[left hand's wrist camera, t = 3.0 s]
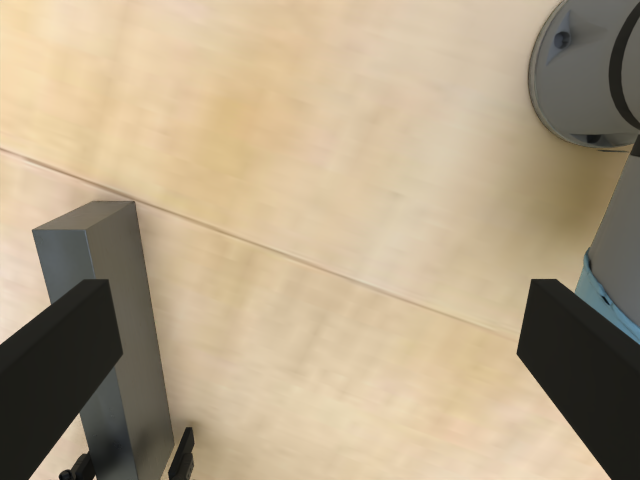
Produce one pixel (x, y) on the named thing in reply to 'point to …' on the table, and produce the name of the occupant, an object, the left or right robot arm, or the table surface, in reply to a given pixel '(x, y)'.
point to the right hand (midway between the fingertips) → (149, 435)
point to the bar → (135, 333)
